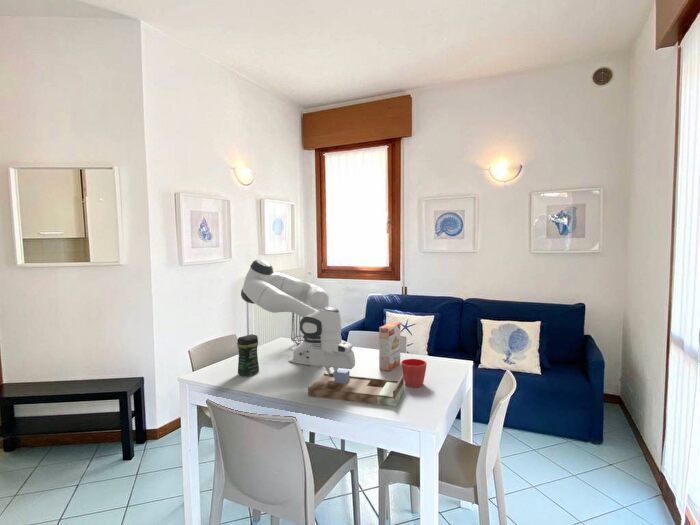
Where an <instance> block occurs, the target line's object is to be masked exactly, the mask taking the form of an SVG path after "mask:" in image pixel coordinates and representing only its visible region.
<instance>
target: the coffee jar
mask: <svg viewBox="0 0 700 525" xmlns="http://www.w3.org/2000/svg"><path fill="white" fill-rule="evenodd" d="M236 344H237V348H238V364H237V375H239V376H241V377H251V376H252V375H253V376H254V375H256V374H258V373H259V372H260V366H259V356H258V346H259V338H258V335H256V334H248V335H243V336H239V337H238V338H237V343H236Z"/></svg>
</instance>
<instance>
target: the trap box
mask: <svg viewBox="0 0 700 525" xmlns="http://www.w3.org/2000/svg"><path fill="white" fill-rule="evenodd" d="M404 390H405V381H404V376H403V375H401V376H400V378H399V379H398V380H396V379H395V380H394V379H385V378H383V379H382V378H376V377H375V378H374V377H373V378H372V377H364V376H353V375H350V380H349V381H348V382H347V383H346V384H344V383H335V382H334V377H328V373H323V374H322V376H321V377H320V378H318V379H317V380H316V381H315V382H314V383H313V384H312V385H310V386H308V387H307V396H308V397H313V398H315V397H316V398H322V399H323V398H324V399H331V400H339V401H345V402H346V401H348V402H355V403H363V404H372V405H380V406H386V407H396V406H397V404H398V402H399V400H400V399H401V396H402V395H403V393H404Z"/></svg>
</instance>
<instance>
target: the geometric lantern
mask: <svg viewBox="0 0 700 525" xmlns="http://www.w3.org/2000/svg"><path fill="white" fill-rule="evenodd" d="M291 313H292V312H291ZM295 316H296V317H295ZM298 317H299V331H298ZM295 318H296V320H295ZM300 321H301V316H299V315H297V314H295V313H292V315H291V333H293V334H291V338H290V339H291V340H290V341H292V342H293V343H294V344H296V345H297V346H298V345H299V344H301V343H302V342H303V341H304V339H301V335H297V334H298V332H299V334H301V330H300ZM294 331H295V333H294ZM298 337H299V338H298Z"/></svg>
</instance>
